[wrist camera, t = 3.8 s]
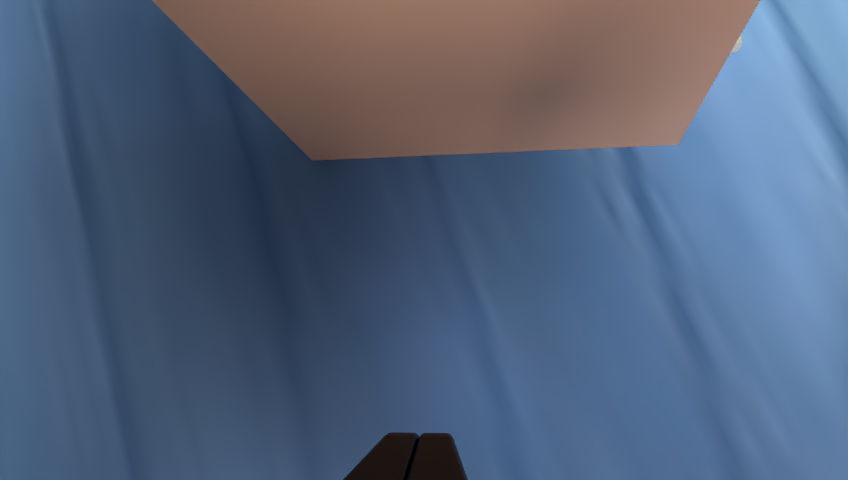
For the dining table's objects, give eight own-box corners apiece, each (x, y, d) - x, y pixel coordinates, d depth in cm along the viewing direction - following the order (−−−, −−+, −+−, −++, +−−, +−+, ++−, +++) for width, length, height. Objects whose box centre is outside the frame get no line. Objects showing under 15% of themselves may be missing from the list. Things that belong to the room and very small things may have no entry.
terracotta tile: (677, 144, 23) (869, -191, 10) (312, 160, 25) (46, -105, 12) (673, 70, 24) (849, -347, 10) (314, 91, 26) (62, -241, 12)
